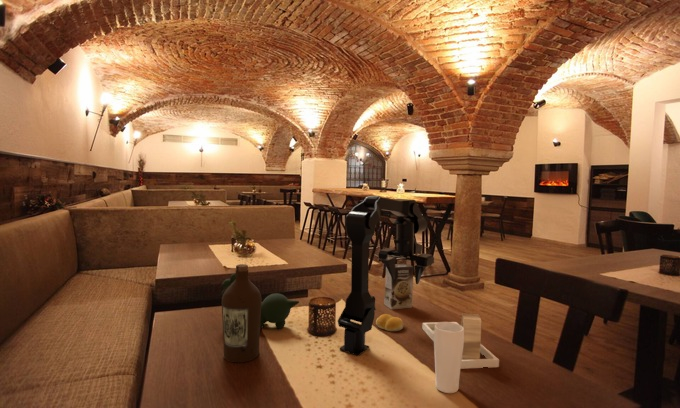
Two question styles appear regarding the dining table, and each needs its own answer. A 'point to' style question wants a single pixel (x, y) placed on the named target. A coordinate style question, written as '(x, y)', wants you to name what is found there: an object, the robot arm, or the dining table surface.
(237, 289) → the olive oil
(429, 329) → the box
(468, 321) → the maple block
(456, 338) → the drinking glass
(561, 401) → the dining table surface
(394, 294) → the white cardboard box
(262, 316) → the toy figurine
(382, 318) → the bread roll
